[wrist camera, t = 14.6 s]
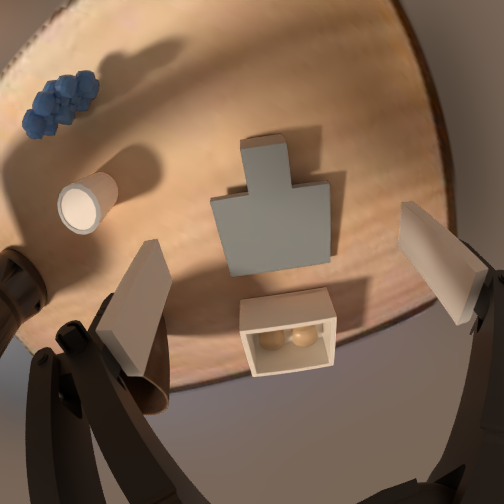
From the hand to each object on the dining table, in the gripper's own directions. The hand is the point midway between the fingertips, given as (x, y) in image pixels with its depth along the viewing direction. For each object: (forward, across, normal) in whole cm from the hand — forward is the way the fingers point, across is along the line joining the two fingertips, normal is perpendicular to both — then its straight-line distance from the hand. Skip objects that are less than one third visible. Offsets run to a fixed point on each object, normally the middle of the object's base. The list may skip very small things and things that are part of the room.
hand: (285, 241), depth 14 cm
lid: (+23, 0, -7) cm, 24 cm away
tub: (+22, 0, -28) cm, 36 cm away
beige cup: (+23, -23, 0) cm, 32 cm away
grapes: (+23, -22, +14) cm, 35 cm away
